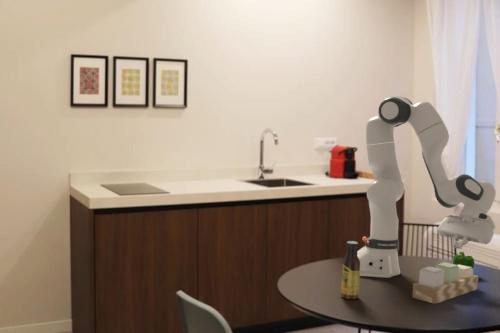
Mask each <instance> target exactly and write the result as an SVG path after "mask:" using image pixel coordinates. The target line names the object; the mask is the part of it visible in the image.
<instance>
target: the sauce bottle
mask: <svg viewBox="0 0 500 333" xmlns="http://www.w3.org/2000/svg"><path fill="white" fill-rule="evenodd" d="M358 248H359V242H358V241H354V240H348V241H347V242H346V252H345V256H344V259H343V261H342V267H341V282H340V283H341V284H340V286H341V287H340V292H341V297H342V298H344V299H347V300H349V299H350V300H354V299H355V300H356V299H358V297H359V293H360V279H361V276H360V260H359V258H358V256H357V254H358V253H357V251H358Z"/></svg>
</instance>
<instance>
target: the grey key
mask: <svg viewBox="0 0 500 333" xmlns="http://www.w3.org/2000/svg"><path fill="white" fill-rule="evenodd" d="M418 280H419V281H418V282H419V284H420V285H424V286H427V287H431V288H437V287H440V286H443V284H444V271H443V269H439V268H435V267H433V266H426V267H423V268H422V267H421V269H420V270H419V279H418Z"/></svg>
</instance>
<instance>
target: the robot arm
mask: <svg viewBox="0 0 500 333" xmlns="http://www.w3.org/2000/svg"><path fill="white" fill-rule="evenodd" d="M407 123H408V124H409V125H411V127H412V129H414V132H415V134H416V136H417V138H418V140H419V143H420V146H421V152H422V153H421V155H422V159H423V162H424V164H425V167H426V169H427V172H428V175H429V177H430V179H431V183H432V185H433V189H434V196H435V199H436V201H437V202H438V203H439V204H440V206H442V207H444V208H446V209H447V208H449V209H452V208H454V207H457V206H458V205H459V204H461V203H462V204H463V207H462V208H461V211H460V213H459V215H458V216H457V215H452V214H451V215H447V216H445V217H443V220H442V221H441V223H440V224H439V225H438V227H437V232H438V234H439V236H441V237H445V238H450V239H451V238H452V239H453V243H452V247H453V249H459V250H462V249H463V247H464V246H466V245H467V244H468V243H469V242H470V243H471V242H473V243H475V244H476V243H477V244H484V245H489V244H490V243H491V241H492V239H493V237H494V230H495V229H496V225H495V223H494V220H493V218H492V217H491V216H490V215H489V214H488V212H489V211H491V208H492V206H493V203H494V201H495V199H496V195H497V193H496V188H495V186H494V185H493V184H492V183H490V182H488V181H486V180H478V179H475V178H474V177H472V176H471V175H469V174H465V173H464V174H460V175H457V176H456V177H453V178H452V179H449V178H448V176H447V173H446V171H445V167H444V166H443V163H442V162H443V161H442V154H443V152H444V150H445V147H446V146H447V145H448V143H449V139H450V135H449V130H448V127H447V126H446V123H445V122H444V120H443V119H442V117H441V116H440V114H439V112H438V111H437V109H436V108H435V107H434V106H433V105H432V103H430V102H429V101H425V100H424V101H419V102H417V103H415V104H413V102H412V101H411V100H410V99H408V98H406V97H402V96H390V97H387V98H385V99H383V100H382V101H381V102H380V104H379V106H378V116H373V117H371V118H369V119H368V121H367V122H366V124H365V125H366V126H365V143H366V151H367V160H368V165H369V167H370V169H371V172H372V175H373V178H374V180H373V181H371V183H370V184H369V185H368V186H367V189H366V197H367V200H368V207H369V212H370V236H368V237H367V236H363V237H362V241H363V242H364V246H363V247H361V248H360V249H359V250H358V249H357V253H358V254H357V256H358V258H359V260H360V277H370V278H371V277H373V278H387V279H389V278H392V277H394V276H398V275H400V274H401V270H400V265H399V264H400V263H399V256H398V253H399V250H400V238H399V217H398V213H397V211H398V210H397V202H398V201H399V200H400V199H401V198H402V197H403V195H404V193H405V184H404V183H403V179H402V176H401V173H400V169H399V166H398V162H397V154H396V148H395V147H396V146H395V139H394V131H395V128H397V127H399V126H402V125H404V124H407ZM460 240H461V241H460ZM459 241H460V242H459Z"/></svg>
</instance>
